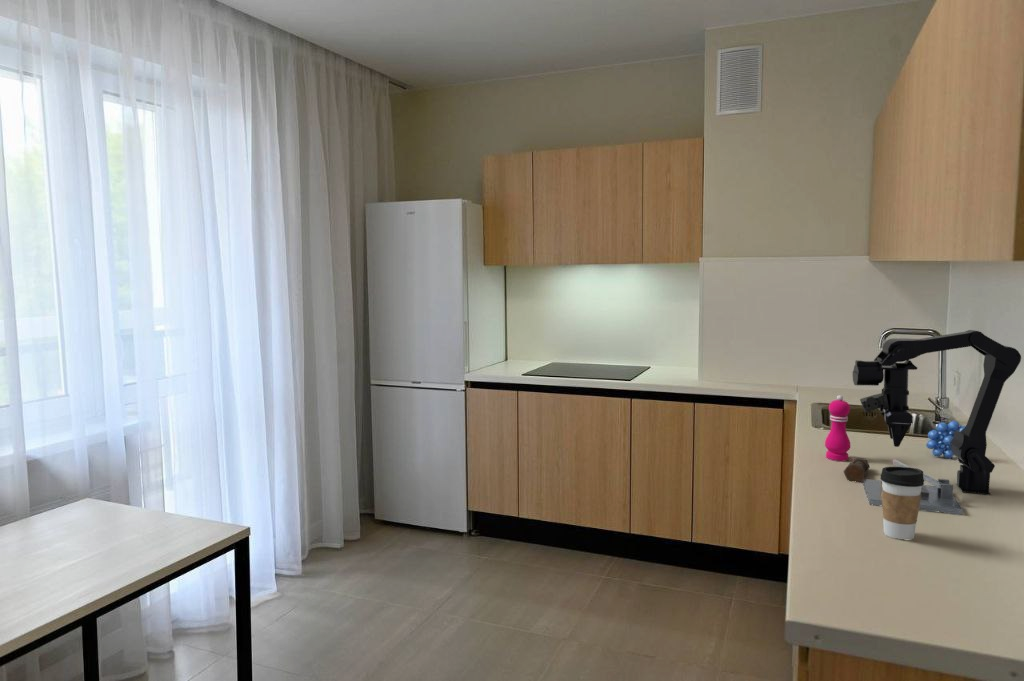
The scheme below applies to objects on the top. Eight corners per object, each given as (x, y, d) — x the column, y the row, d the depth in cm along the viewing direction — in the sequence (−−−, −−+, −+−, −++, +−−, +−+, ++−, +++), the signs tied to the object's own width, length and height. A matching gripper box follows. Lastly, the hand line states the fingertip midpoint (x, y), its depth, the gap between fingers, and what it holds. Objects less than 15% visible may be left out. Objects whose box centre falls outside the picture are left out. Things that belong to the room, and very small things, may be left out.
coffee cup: (919, 545, 149) (924, 477, 148) (875, 537, 154) (879, 471, 152) (921, 532, 156) (925, 467, 155) (878, 525, 161) (882, 462, 159)
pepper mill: (824, 460, 215) (827, 396, 213) (823, 454, 222) (826, 392, 220) (850, 462, 213) (853, 398, 211) (848, 456, 219) (852, 394, 217)
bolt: (864, 475, 206) (856, 487, 193) (848, 465, 208) (840, 475, 196) (876, 460, 204) (869, 471, 191) (860, 449, 206) (852, 459, 194)
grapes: (966, 456, 219) (969, 419, 218) (970, 462, 213) (973, 423, 212) (923, 453, 224) (926, 416, 223) (926, 458, 218) (929, 420, 217)
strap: (946, 489, 178) (949, 486, 178) (949, 493, 176) (951, 490, 175) (892, 462, 182) (894, 458, 182) (893, 465, 180) (895, 461, 179)
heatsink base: (946, 492, 184) (948, 474, 184) (962, 515, 168) (963, 494, 167) (862, 484, 192) (863, 466, 191) (869, 504, 175) (870, 485, 174)
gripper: (860, 379, 200) (859, 433, 201) (865, 390, 182) (863, 448, 184) (904, 380, 195) (903, 435, 197) (913, 391, 178) (912, 451, 180)
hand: (894, 442), depth 189 cm, fingers open, 9 cm apart
